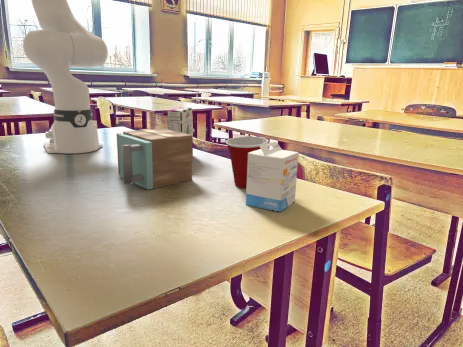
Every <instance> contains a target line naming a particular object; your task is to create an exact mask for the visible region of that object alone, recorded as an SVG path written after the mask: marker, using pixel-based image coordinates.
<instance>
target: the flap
mask: <svg viewBox="0 0 463 347" xmlns="http://www.w3.org/2000/svg"><path fill="white" fill-rule="evenodd" d="M116 147H117V149H116V150H117V168H118V176H119V177H121V178H123V184H124V185H132V184H135V185H138V186H140V187H141V188H144V189H146V190H151V189H154V188H153V168H152V142H149V141H146V140H142V139H139V138H135V137H132V136H129V135H125V134H123V133H121V132H120V133H117V132H116Z"/></svg>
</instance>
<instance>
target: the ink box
mask: <svg viewBox="0 0 463 347" xmlns="http://www.w3.org/2000/svg"><path fill="white" fill-rule="evenodd" d="M269 147H272V148H269ZM260 148H261V149H259V150H256V151H252V152H249V153H248V166H247V187H246V188H245V189H246V190H245V205H246V206H250V207H254V208H260V209H263V210H269V211H272V210H274V211H273V212H277V211H279V212H278V213H281V212H283V211H284V210H286V207H287V208H288V207H290V206H291V205H292V204H294V203H295V201H296V192H297V180H298V179H297V178H298V176H297V175H298V167H299V155H300V154H299V153H300V152H298V151H292V150H285V149H283V148H281V146H280V145H279V143H277V141H272V142H268V144H264V145H260ZM293 202H294V203H293ZM283 209H284V210H283ZM280 211H281V212H280Z"/></svg>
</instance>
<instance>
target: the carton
mask: <svg viewBox="0 0 463 347" xmlns="http://www.w3.org/2000/svg"><path fill="white" fill-rule="evenodd" d="M122 134H125V135H129V136H132V137H135V138H139V139H142V140H146V141H149V142H152V168H153V188H152V189H156V188H161V187H166V186H170V185H174V184H179V183H184V182H188V181H192V180H193V155H192V135H189V134H185V133H180V132H176V131H172V130H168V128H151V129H149V128H143V129H138V130H129V131H122Z"/></svg>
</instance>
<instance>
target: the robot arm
mask: <svg viewBox="0 0 463 347" xmlns="http://www.w3.org/2000/svg"><path fill="white" fill-rule="evenodd" d="M31 4H32V7H33V11H34V12H35V16H36V18H37V22H38V23H39V27H41V28H42V29H39V30H38V29H37V30H30V31H29V32H27V34H26V35H25V37H24V38H23V41H22V42H23V44H22V48H23V51H24V54H25V56H26V57H27V58H28V60H29V61H30V62H31V63H32V64H34V65H35V66H37V67H38V68H39V70H41V71H42V72H43V73H44V74H45V76H46V77H47V79H48V81H49V83H50V87H51V90H52V95H53V101H54V108H55V109H54V110H53V122H52V124H51V126H50V128H49V130H48V131H45V132H44V134H45V139H49V141H48V142H43V147H44V150H45V151H46V152H47V153H48V154H84V153H91V152H95V151H97V150H98V149H100V148H103V146H104V145H103V143H100V140H99V135H98V134H99V133H98V126H97V124H96V123H94V122H93V112H92V111H93V109H91V100H90V89H89V87H88V85H87V84H86V83H85V82H84V81H83V80H81V79H79V78H77V77H76V76H73V75H72V73H71V70H70V68H86V69H87V68H89V69H90V68H95V67H100V66H103V65H104V64H105V63H106V61H107V59H108V56H109V52H108V50H109V49H108V47H107V44H106V42H105V41H104V39H103V38H102V37H100V36H97V35H95V33H92V32H91V31H89V30H88V29H87V28H86V27H84V26H83V25H82V24H81V23H80V22H79V21H78V20H77V18H76V17H75V16H74V14H73V12H72V10H71V8H70V6H69V3H68V0H31Z"/></svg>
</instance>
